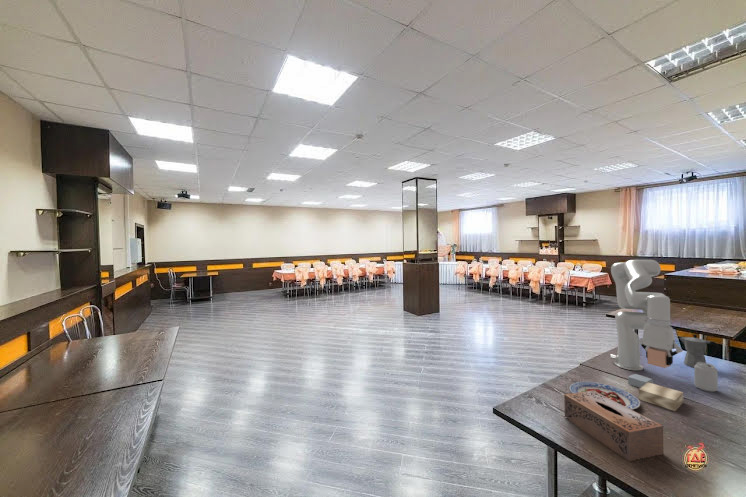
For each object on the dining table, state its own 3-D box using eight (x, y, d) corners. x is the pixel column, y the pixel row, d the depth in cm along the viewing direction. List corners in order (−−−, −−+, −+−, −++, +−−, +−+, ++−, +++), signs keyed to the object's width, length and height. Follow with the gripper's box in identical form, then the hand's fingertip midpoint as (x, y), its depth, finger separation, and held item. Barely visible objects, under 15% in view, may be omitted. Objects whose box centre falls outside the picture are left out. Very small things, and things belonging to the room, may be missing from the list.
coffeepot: (677, 364, 175) (677, 333, 174) (680, 360, 180) (680, 330, 180) (717, 373, 162) (717, 339, 162) (719, 368, 168) (719, 336, 168)
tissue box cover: (663, 454, 102) (663, 425, 102) (629, 462, 99) (629, 432, 99) (593, 413, 128) (593, 390, 127) (564, 418, 125) (564, 394, 124)
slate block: (628, 384, 152) (628, 376, 152) (634, 381, 156) (634, 373, 156) (645, 390, 146) (645, 382, 146) (652, 386, 149) (652, 378, 149)
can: (722, 393, 141) (722, 367, 141) (703, 392, 143) (703, 366, 143) (708, 385, 149) (708, 361, 148) (690, 384, 150) (690, 360, 150)
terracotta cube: (647, 363, 138) (647, 348, 138) (653, 361, 140) (653, 346, 140) (664, 368, 132) (664, 352, 132) (670, 365, 135) (670, 349, 135)
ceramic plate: (641, 397, 140) (641, 391, 140) (638, 422, 121) (638, 414, 121) (575, 381, 157) (575, 375, 157) (564, 400, 139) (564, 394, 139)
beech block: (638, 400, 138) (638, 389, 138) (648, 392, 144) (647, 382, 144) (675, 412, 128) (675, 400, 128) (683, 403, 134) (683, 392, 134)
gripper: (631, 319, 142) (631, 357, 142) (681, 328, 127) (681, 370, 127) (639, 317, 146) (639, 354, 146) (688, 325, 130) (689, 367, 130)
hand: (659, 361), depth 136 cm, fingers closed on terracotta cube, 6 cm apart
